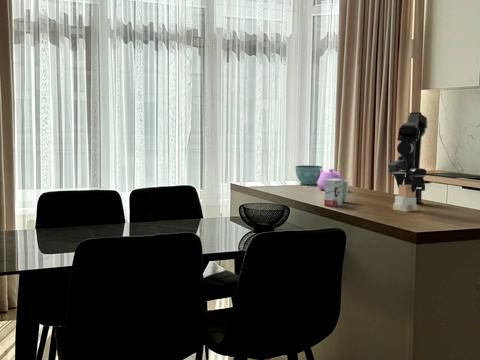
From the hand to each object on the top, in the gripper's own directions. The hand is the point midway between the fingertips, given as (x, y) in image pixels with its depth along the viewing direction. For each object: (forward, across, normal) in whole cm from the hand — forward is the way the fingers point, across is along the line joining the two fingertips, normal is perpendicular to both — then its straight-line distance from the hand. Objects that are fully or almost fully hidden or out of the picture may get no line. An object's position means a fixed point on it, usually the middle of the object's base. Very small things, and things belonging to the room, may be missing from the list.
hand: (406, 190), depth 239 cm
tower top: (+6, 0, 0) cm, 6 cm away
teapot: (+8, -73, +3) cm, 74 cm away
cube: (+3, 0, 0) cm, 3 cm away
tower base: (+9, 0, 0) cm, 9 cm away
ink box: (+8, -20, -24) cm, 32 cm away
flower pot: (+8, -103, +5) cm, 103 cm away
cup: (+8, -29, -16) cm, 34 cm away
